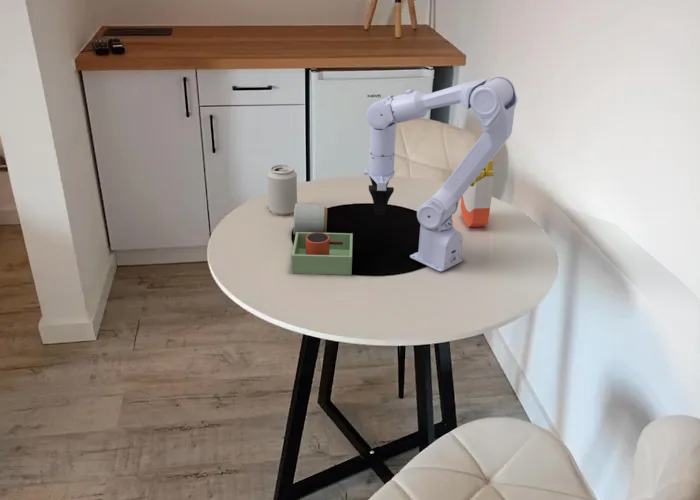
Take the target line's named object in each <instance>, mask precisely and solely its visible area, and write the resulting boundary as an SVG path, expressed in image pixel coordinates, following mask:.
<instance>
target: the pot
mask: <svg viewBox="0 0 700 500" xmlns="http://www.w3.org/2000/svg"><path fill="white" fill-rule="evenodd" d="M330 244H333V245H343V240H332V239H330V237H329V236H328V235H327V234H325V233H319V232H316V233H311V234H308V235H307V236H306V255H330Z"/></svg>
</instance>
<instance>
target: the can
mask: <svg viewBox="0 0 700 500" xmlns="http://www.w3.org/2000/svg"><path fill="white" fill-rule="evenodd" d="M297 174H298V173H297V172H296V171H295V167H294V166H292V165H290V164H275V165H272V166H270V168H269V171H268V172H267V199H268V200H267V202H268V210H269V211H270V212H272V214H273V215H278V216H287V215H291V214H294V209H295V204H298V178H297V177H298V175H297Z"/></svg>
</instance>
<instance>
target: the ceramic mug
mask: <svg viewBox="0 0 700 500" xmlns="http://www.w3.org/2000/svg"><path fill="white" fill-rule="evenodd" d="M327 225H328V208H327V207H326V206H323V205H319V204H306V203H297V204H295V209H294V212H293V235H294V236H295V235H296V232H315V233H316V232H319V233H327V229H328V228H327V227H328V226H327Z"/></svg>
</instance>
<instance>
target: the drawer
mask: <svg viewBox="0 0 700 500" xmlns="http://www.w3.org/2000/svg"><path fill="white" fill-rule="evenodd" d="M311 233H315V232H296V235H294V241H293V247H292V252H291V274H300V275H304V274H306V275H341V276H342V275H343V276H352V273H353V272H352V271H353V239H354V238H353V237H354V234H353V232H351V233H350V232H349V233H348V232H347V233H346V232H326V233H325V234H327V235H328V236H329V237H330V239H332V240H343V245H333V244H330V255H306V236H307V235H308V234H311Z"/></svg>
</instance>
